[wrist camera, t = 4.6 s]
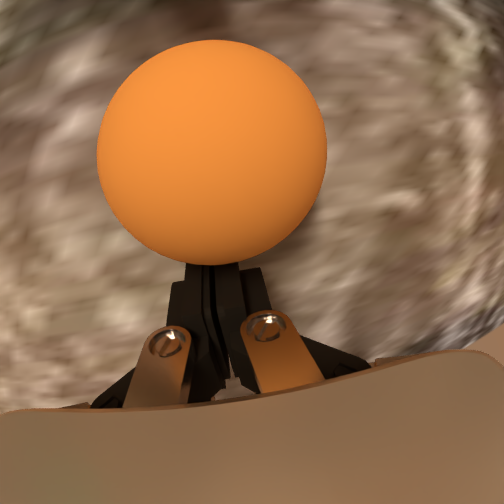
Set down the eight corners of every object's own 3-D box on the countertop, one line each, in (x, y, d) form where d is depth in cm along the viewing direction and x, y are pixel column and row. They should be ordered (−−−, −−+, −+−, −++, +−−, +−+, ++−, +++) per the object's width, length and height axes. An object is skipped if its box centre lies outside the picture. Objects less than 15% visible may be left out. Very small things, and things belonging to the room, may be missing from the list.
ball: (71, 302, 5) (80, 5, 4) (126, 257, 11) (121, 97, 10) (382, 271, 6) (353, 12, 5) (287, 244, 12) (278, 92, 11)
